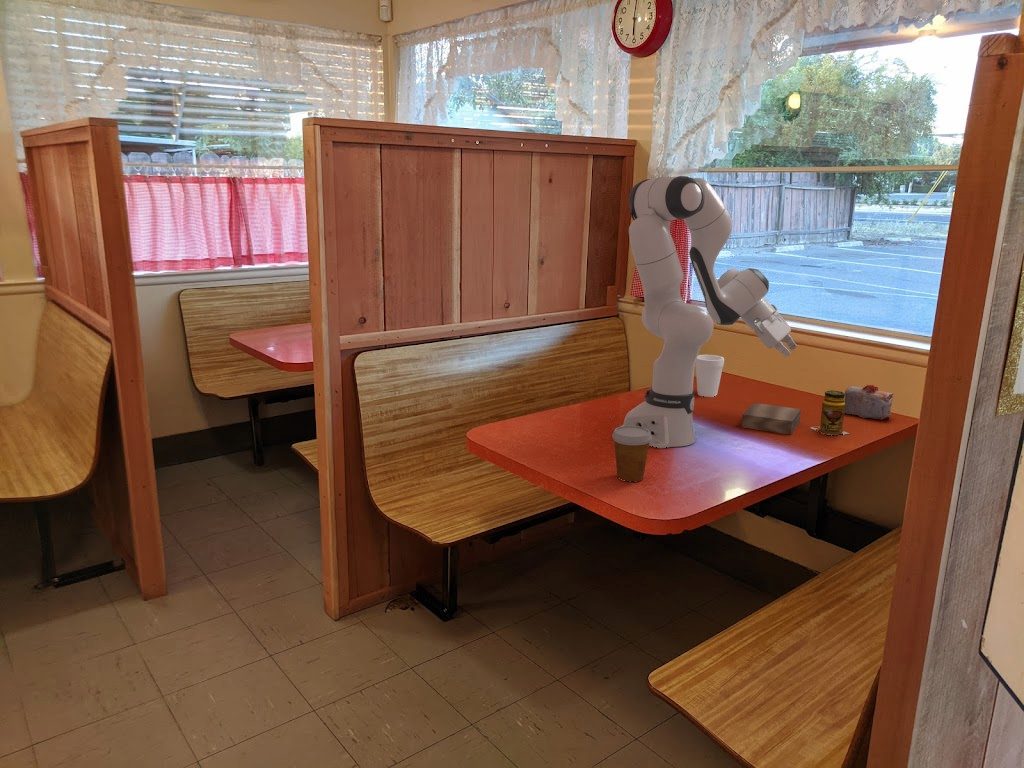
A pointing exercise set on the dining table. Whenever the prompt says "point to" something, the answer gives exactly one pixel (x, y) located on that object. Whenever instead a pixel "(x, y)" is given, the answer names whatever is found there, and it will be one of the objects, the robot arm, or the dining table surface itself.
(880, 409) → the food item
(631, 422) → the robot arm
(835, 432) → the condiment
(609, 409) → the dining table surface
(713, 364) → the foam cup
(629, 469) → the disposable coffee cup
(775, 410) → the base
